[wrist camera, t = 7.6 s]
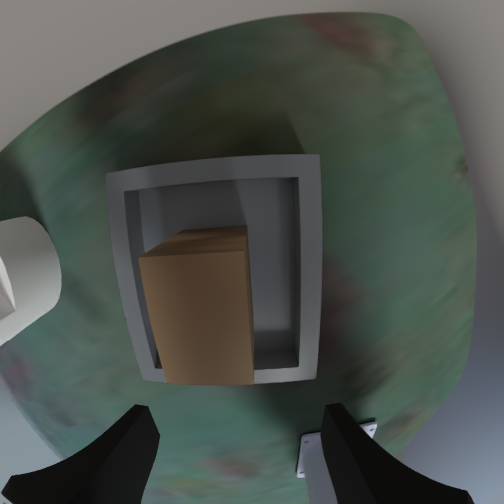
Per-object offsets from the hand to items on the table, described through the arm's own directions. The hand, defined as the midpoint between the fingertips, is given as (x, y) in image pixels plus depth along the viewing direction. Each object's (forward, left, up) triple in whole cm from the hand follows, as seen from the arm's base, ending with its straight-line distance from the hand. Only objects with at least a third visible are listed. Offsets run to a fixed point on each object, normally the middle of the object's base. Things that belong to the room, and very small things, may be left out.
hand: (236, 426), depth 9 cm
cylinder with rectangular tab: (+5, +19, -10) cm, 22 cm away
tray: (+4, +1, -10) cm, 10 cm away
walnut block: (+4, +1, -9) cm, 10 cm away
